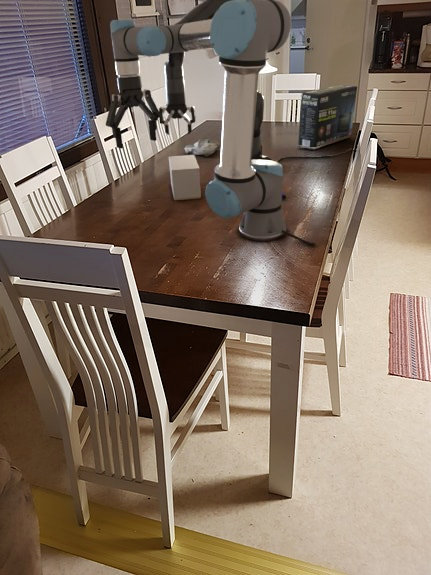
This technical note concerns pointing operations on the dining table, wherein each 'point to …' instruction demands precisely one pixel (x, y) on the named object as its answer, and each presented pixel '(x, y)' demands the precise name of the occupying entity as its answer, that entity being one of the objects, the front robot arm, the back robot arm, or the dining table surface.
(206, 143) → the fossil
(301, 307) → the dining table surface
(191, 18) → the back robot arm
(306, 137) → the router box
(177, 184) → the white box
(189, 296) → the dining table surface
